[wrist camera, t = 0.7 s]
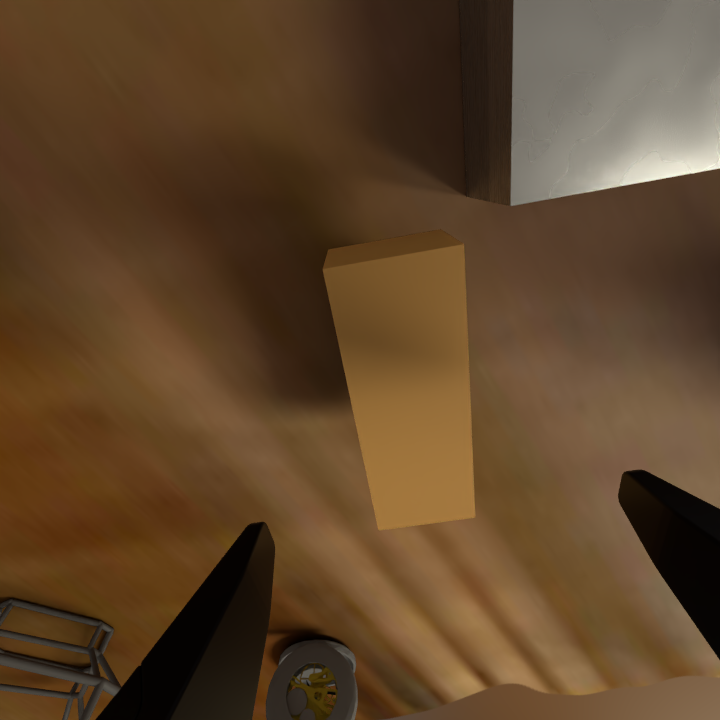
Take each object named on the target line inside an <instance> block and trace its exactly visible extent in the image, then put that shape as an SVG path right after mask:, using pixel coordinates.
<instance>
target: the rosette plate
mask: <svg viewBox="0 0 720 720" xmlns="http://www.w3.org/2000/svg"><path fill="white" fill-rule="evenodd" d="M459 7H460V35H461V63H462V91H463V119H464V147H465V175H466V197H470V198H475V199H479V200H484V201H489V202H494V203H498V204H503V205H508V206H514V205H519V204H525V203H531V202H536V201H542V200H547V199H553V198H558V197H564V196H569V195H575V194H580V193H586V192H591V191H597V190H602V189H608V188H614V187H619V186H625V185H630V184H636V183H641V182H647V181H652V180H658V179H663V178H669V177H674V176H680V175H686V174H691V173H697V172H702V171H708V170H713V169H719V168H720V0H459Z"/></svg>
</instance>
